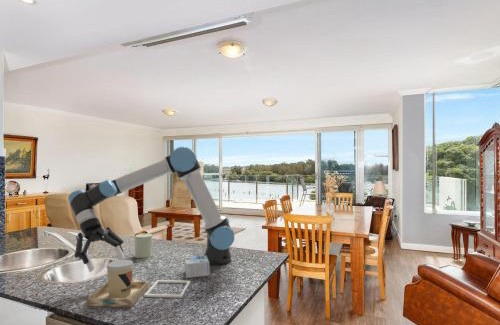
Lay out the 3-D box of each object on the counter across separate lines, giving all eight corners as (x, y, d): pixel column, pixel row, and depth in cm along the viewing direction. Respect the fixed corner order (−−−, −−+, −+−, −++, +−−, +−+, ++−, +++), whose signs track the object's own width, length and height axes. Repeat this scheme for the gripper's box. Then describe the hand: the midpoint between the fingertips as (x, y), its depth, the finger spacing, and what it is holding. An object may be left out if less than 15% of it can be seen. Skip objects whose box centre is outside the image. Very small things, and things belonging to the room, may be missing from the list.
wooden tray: (148, 287, 118) (148, 281, 118) (131, 307, 101) (131, 299, 102) (109, 286, 119) (109, 280, 119) (85, 306, 102) (85, 299, 102)
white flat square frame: (190, 282, 124) (190, 280, 124) (181, 297, 109) (181, 295, 109) (157, 281, 124) (157, 280, 124) (144, 296, 110) (144, 294, 110)
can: (152, 252, 167) (152, 232, 168) (151, 257, 159) (152, 235, 159) (135, 254, 164) (135, 233, 165) (134, 258, 156) (134, 236, 156)
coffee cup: (122, 301, 105) (122, 268, 105) (100, 298, 107) (101, 266, 107) (138, 290, 114) (138, 260, 114) (118, 288, 116) (118, 258, 116)
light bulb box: (184, 256, 139) (206, 254, 142) (184, 270, 139) (206, 268, 142) (185, 263, 129) (209, 261, 131) (185, 278, 128) (209, 276, 131)
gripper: (111, 221, 136) (129, 260, 129) (54, 232, 115) (72, 279, 108) (118, 212, 134) (138, 251, 127) (61, 222, 112) (81, 269, 105)
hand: (108, 264), depth 117 cm, fingers open, 13 cm apart
